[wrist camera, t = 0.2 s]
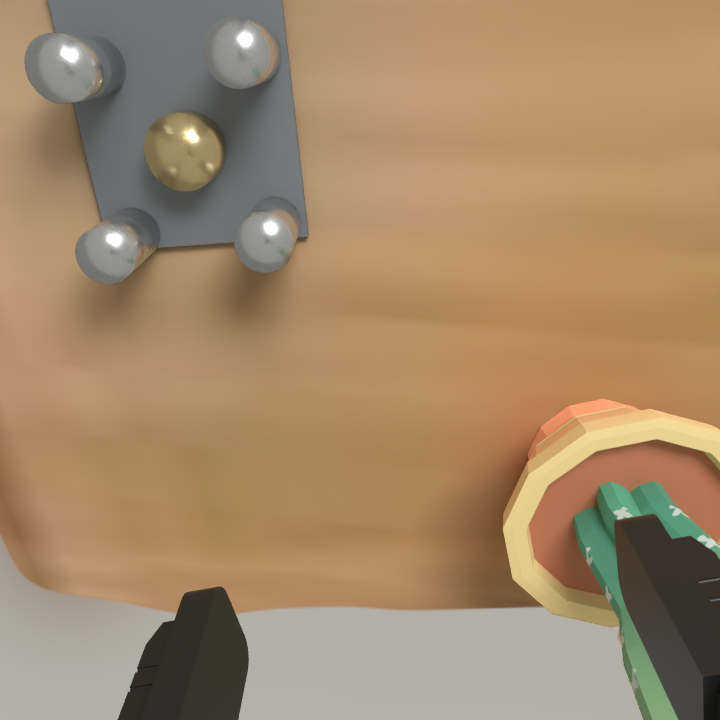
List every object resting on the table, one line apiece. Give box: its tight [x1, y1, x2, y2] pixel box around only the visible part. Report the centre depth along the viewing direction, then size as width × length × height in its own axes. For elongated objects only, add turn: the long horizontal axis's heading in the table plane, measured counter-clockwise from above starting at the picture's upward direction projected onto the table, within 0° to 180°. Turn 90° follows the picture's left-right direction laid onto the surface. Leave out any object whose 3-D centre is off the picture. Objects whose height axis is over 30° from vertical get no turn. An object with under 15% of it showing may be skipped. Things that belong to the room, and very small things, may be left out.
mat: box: [48, 0, 309, 248], centre depth 34 cm, size 25×12×1 cm, turn 4°
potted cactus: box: [503, 399, 720, 720], centre depth 34 cm, size 15×15×25 cm
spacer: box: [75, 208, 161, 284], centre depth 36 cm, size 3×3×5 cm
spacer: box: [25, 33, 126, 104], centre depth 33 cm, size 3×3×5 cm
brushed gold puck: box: [144, 110, 227, 191], centre depth 36 cm, size 4×4×2 cm
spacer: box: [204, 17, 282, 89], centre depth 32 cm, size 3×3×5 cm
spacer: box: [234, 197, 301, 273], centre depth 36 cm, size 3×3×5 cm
